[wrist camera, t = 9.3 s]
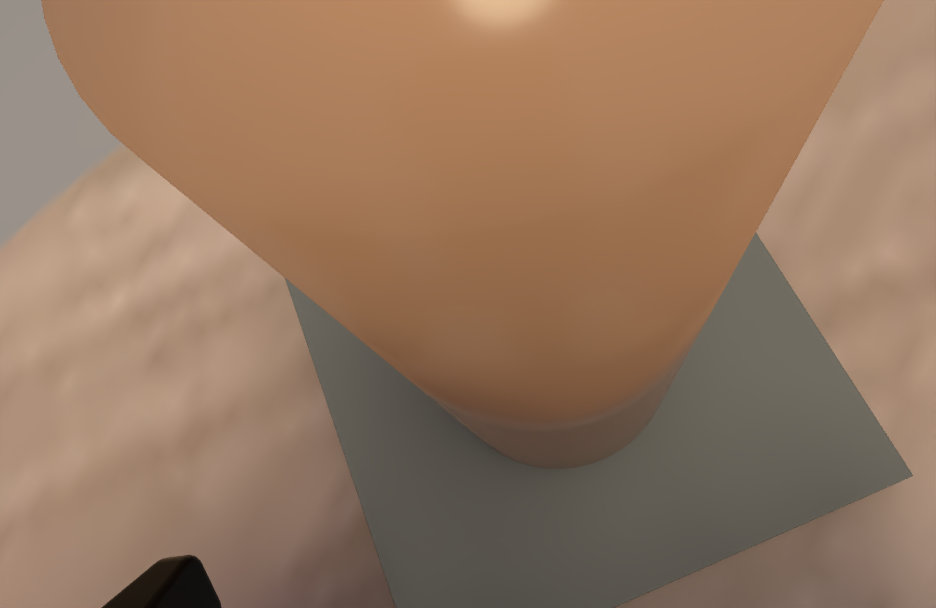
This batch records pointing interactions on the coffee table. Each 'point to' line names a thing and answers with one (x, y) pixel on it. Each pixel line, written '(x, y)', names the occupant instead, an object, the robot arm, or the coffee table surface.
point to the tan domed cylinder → (482, 174)
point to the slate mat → (609, 464)
